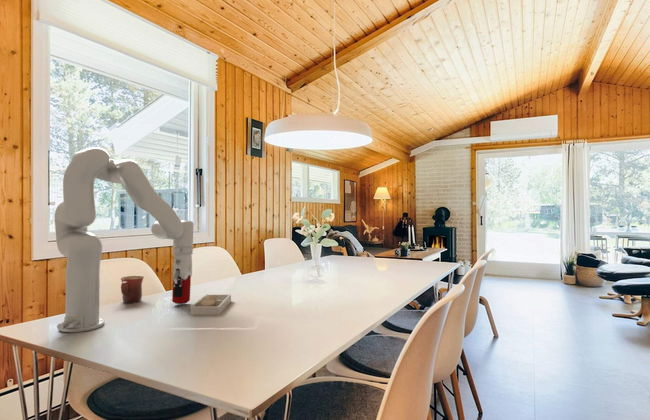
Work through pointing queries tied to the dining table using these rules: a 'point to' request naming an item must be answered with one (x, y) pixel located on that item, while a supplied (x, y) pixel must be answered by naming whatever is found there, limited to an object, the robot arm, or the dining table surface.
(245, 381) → the dining table surface
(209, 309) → the carton
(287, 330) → the dining table surface
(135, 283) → the mug
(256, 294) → the dining table surface
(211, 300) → the wooden egg
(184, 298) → the beverage can
